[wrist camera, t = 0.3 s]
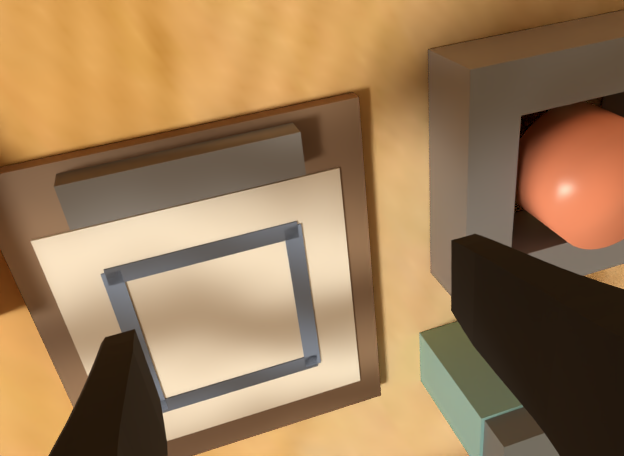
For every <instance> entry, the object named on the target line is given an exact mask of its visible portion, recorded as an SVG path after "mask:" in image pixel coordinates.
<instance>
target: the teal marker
mask: <svg viewBox="0 0 624 456" xmlns="http://www.w3.org/2000/svg"><path fill="white" fill-rule="evenodd" d="M420 371H421V382H422V383H423V385H424V387H425V388H426V390H427V391H428V393H429V394H430V396H431V397H432V399H433V400H434V402H435V403H436V405H437V407H438V408H439V410H440V411H441V413H442V414H443V416H444V417H445V419H446V420H447V422H448V423H449V425H450V427H451V428H452V430H453V431H454V433H455V434H456V436H457V437H458V439H459V440H460V442H461V443H462V445H463V447H464V448H465V450H466V451H467V453H468V454H469V456H560V455H559V454H558V452H557V451H556V449H555V448H554V446H553V445H552V443H551V442H550V440H549V439H548V437H547V436H546V435H545V433H544V432H543V430H542V429H541V428H540V427H539V425H538V424H537V423H536V421H535V420H534V419H533V417H532V416H531V415H530V414H529V413H528V411H527V410H526V409H525V408H524V407H523V405H522V404H521V403H520V402H519V401H518V399H517V398H516V397H515V396H514V395H513V393H512V392H511V391H510V390H509V389H508V387H507V386H506V385H505V384H504V383H503V381H502V380H501V379H500V378H499V377H498V375H497V374H496V373H495V372H494V371H493V369H492V368H491V367H490V366H489V365H488V363H487V362H486V361H485V360H484V358H483V357H482V356H481V355H480V354H479V352H478V351H477V350H476V349H475V347H474V346H473V345H472V343H471V342H470V340H469V338H468V337H467V335H466V334H465V332H464V331H463V329H462V327H461V326H460V324H459V322H458V321H457V322H453V323H450V324H447V325H444V326H440V327H437V328H434V329H430V330H427V331H424V332H421V333H420Z"/></svg>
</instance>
